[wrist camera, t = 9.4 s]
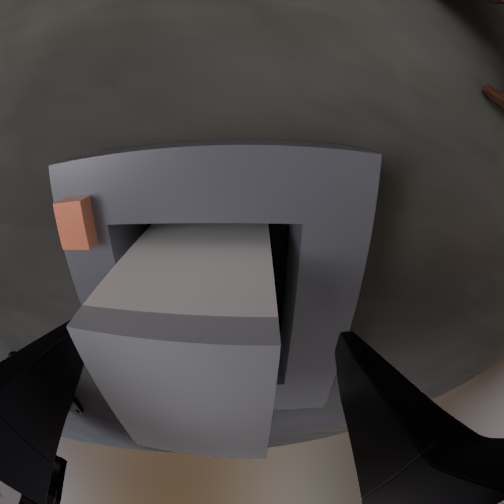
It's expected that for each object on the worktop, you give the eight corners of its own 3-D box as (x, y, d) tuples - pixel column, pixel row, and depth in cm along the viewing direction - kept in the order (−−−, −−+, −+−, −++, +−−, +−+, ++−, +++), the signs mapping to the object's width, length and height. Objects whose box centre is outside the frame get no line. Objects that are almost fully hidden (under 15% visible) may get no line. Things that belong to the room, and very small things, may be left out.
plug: (262, 325, 13) (266, 458, 7) (175, 322, 13) (136, 444, 7) (266, 215, 11) (281, 345, 5) (159, 216, 11) (65, 326, 5)
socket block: (315, 364, 15) (325, 416, 11) (138, 357, 15) (119, 404, 11) (349, 145, 10) (391, 157, 6) (92, 152, 10) (37, 169, 6)
